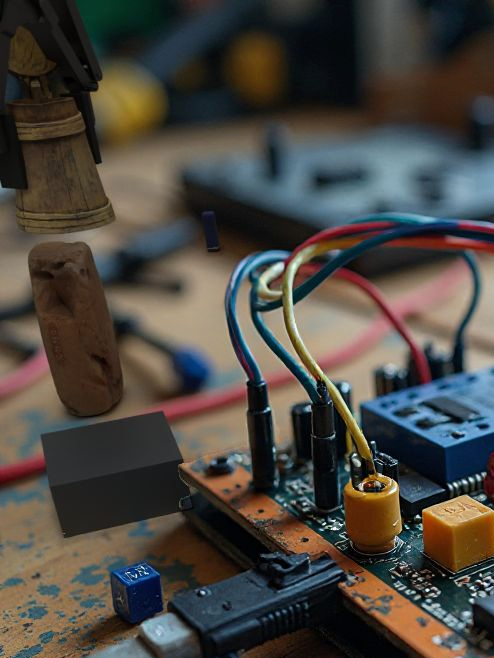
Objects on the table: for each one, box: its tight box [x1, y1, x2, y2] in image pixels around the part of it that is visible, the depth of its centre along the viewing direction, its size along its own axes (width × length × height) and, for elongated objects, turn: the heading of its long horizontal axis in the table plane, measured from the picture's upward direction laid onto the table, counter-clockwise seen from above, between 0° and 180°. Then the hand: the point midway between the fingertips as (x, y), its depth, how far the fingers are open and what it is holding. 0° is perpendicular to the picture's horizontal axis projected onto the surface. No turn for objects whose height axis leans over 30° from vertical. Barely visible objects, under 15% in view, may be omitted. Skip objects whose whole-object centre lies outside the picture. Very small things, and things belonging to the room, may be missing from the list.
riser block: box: [39, 410, 192, 539], centre depth 114 cm, size 13×13×6 cm
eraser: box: [201, 210, 221, 253], centre depth 191 cm, size 2×2×7 cm
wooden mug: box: [5, 26, 117, 235], centre depth 100 cm, size 9×14×18 cm, turn 22°
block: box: [27, 240, 124, 417], centre depth 132 cm, size 11×8×20 cm
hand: (53, 174), depth 102 cm, fingers open, 9 cm apart
